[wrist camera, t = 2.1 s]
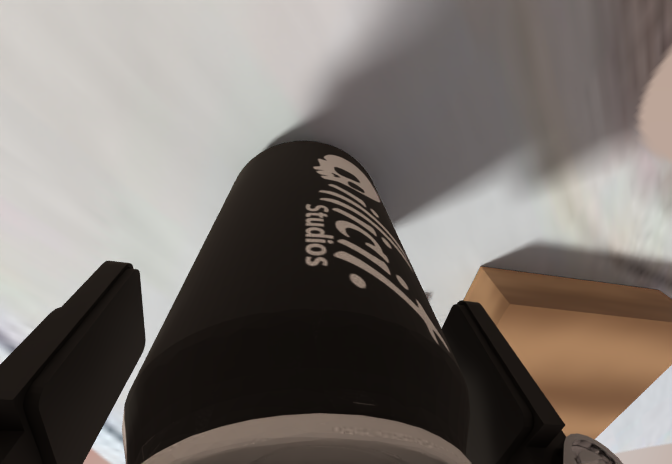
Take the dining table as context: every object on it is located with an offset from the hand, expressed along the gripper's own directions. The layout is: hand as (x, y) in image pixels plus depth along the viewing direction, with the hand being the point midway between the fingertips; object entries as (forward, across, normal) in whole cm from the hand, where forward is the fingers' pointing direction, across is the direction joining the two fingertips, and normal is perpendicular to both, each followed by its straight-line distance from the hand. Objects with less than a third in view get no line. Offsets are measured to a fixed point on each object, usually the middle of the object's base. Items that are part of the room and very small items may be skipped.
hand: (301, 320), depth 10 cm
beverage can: (+7, 0, -1) cm, 7 cm away
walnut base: (+7, -16, +7) cm, 19 cm away
